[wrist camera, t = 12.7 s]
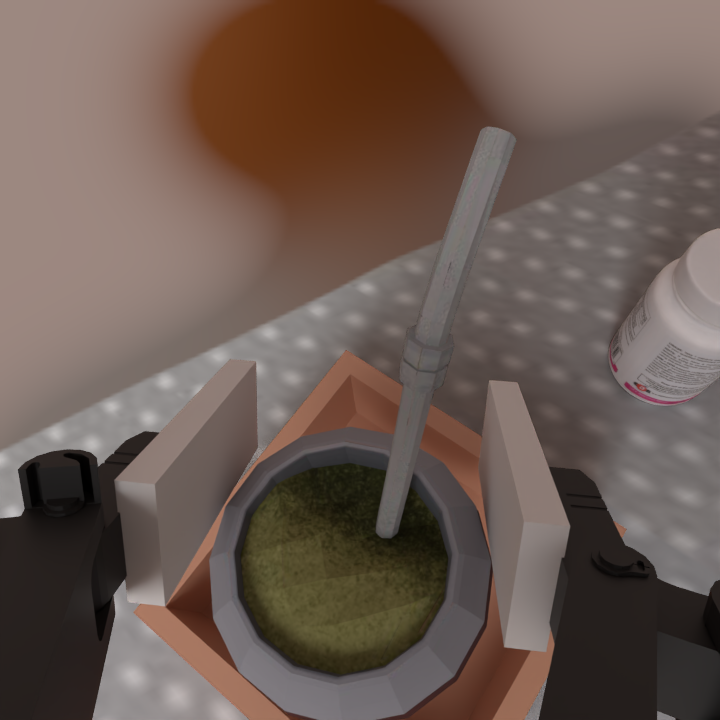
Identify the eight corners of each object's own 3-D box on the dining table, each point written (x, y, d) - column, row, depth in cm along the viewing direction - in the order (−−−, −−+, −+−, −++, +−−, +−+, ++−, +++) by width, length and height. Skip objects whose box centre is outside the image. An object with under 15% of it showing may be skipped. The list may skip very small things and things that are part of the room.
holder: (354, 398, 30) (346, 350, 25) (583, 550, 26) (626, 529, 21) (183, 618, 26) (133, 612, 21) (424, 834, 22) (433, 888, 17)
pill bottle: (726, 380, 29) (841, 288, 22) (648, 425, 29) (739, 346, 21) (661, 307, 31) (746, 200, 24) (586, 347, 31) (650, 250, 23)
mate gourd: (276, 728, 18) (-86, 944, 5) (250, 481, 22) (-2, 215, 8) (511, 679, 19) (781, 762, 5) (449, 441, 22) (511, 116, 9)
